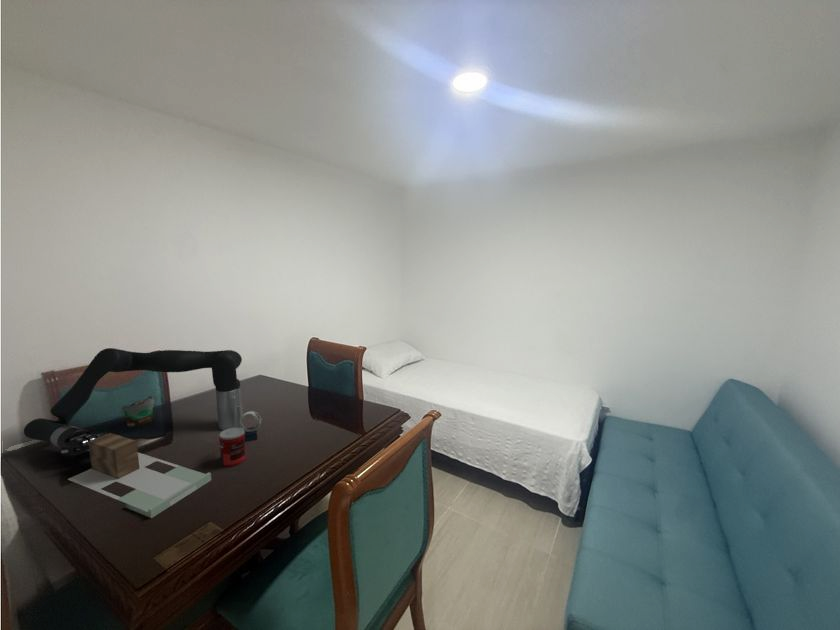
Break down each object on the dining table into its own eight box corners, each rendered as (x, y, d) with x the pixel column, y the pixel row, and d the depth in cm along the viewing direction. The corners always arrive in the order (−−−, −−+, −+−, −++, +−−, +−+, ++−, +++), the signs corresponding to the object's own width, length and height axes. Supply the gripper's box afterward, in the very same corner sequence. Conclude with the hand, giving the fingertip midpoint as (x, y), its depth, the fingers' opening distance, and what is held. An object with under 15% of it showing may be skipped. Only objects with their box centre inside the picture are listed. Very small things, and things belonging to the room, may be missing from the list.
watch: (262, 438, 136) (261, 413, 134) (240, 443, 132) (238, 416, 130) (262, 432, 141) (261, 407, 139) (240, 436, 137) (239, 411, 135)
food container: (135, 430, 140) (133, 407, 138) (123, 428, 141) (121, 406, 140) (163, 417, 152) (161, 396, 150) (152, 416, 153) (150, 395, 152)
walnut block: (91, 469, 111) (88, 441, 109) (113, 459, 116) (110, 432, 115) (118, 479, 106) (115, 450, 105) (139, 468, 112) (136, 440, 110)
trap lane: (67, 483, 106) (66, 476, 105) (132, 454, 122) (132, 448, 122) (151, 518, 92) (150, 510, 92) (211, 480, 109) (210, 473, 109)
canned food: (227, 455, 123) (225, 427, 122) (249, 454, 124) (248, 427, 123) (216, 467, 116) (214, 438, 114) (240, 466, 117) (238, 437, 115)
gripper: (43, 436, 112) (73, 447, 106) (92, 420, 124) (122, 428, 119) (46, 457, 113) (76, 468, 107) (95, 439, 126) (124, 448, 120)
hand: (100, 447), depth 113 cm, fingers closed
